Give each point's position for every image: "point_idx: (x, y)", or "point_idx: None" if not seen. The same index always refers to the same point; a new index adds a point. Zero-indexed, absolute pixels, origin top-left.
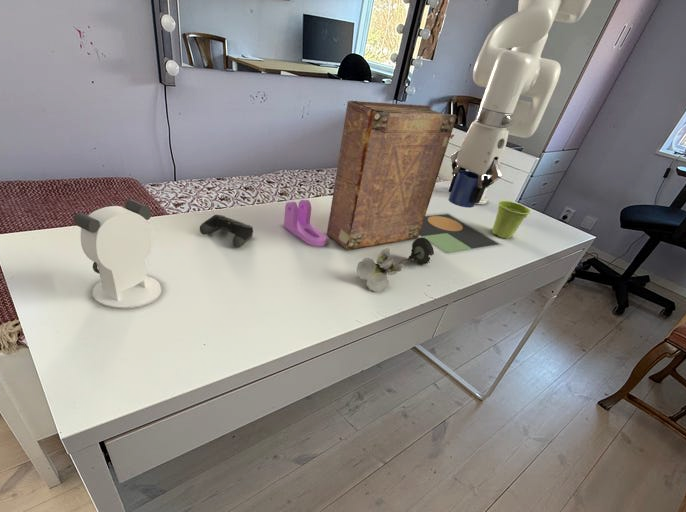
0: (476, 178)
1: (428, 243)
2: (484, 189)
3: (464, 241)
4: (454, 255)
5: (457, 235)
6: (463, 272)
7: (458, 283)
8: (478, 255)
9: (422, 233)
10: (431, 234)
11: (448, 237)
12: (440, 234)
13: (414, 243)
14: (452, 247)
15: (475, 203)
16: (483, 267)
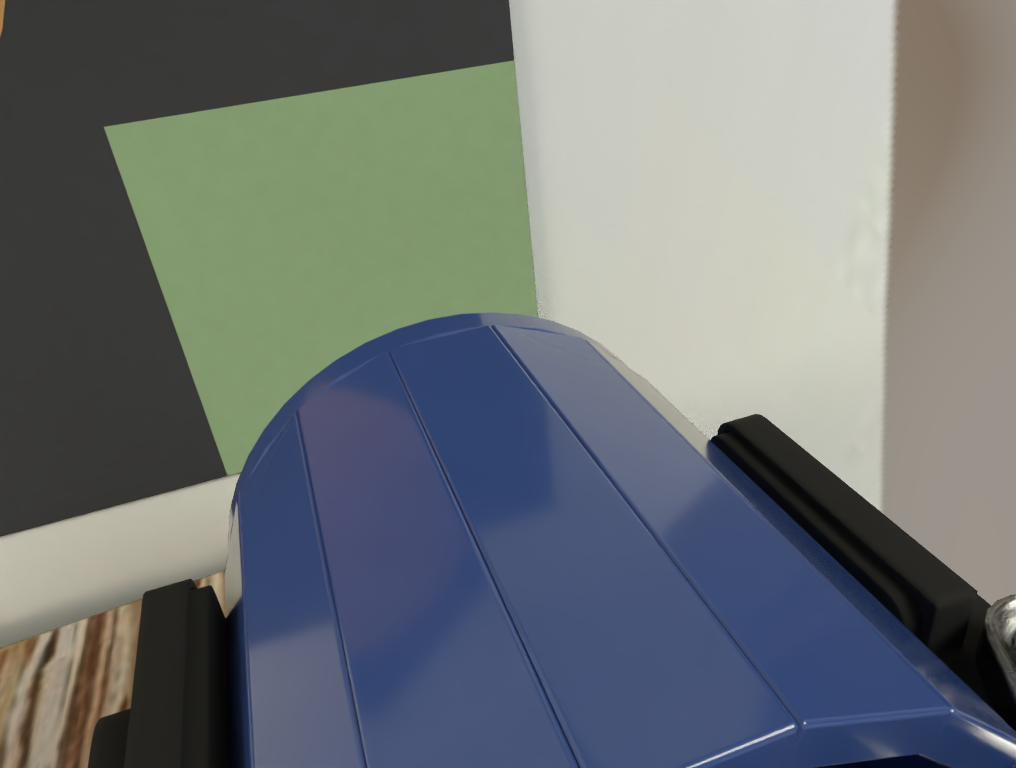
0: (560, 691)
1: None
2: (984, 611)
3: (343, 23)
4: (594, 337)
5: (165, 1)
6: (794, 400)
7: (860, 490)
8: (642, 82)
9: (155, 446)
10: (171, 358)
11: (239, 186)
12: (162, 248)
13: None
14: (471, 281)
15: (656, 389)
16: (803, 193)
